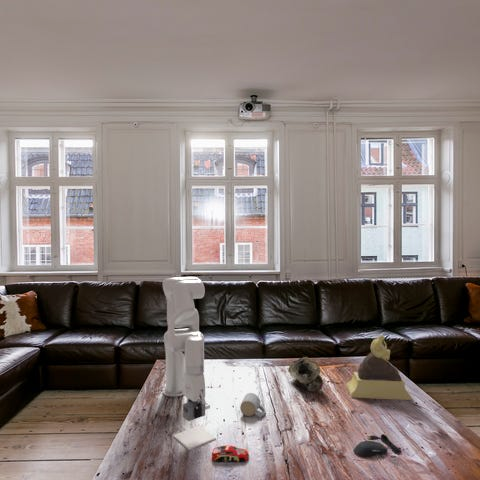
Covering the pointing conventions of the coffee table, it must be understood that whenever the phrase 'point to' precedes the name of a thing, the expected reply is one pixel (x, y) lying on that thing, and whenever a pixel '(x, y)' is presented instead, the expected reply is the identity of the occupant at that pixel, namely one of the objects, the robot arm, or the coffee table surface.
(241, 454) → the race car
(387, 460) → the coffee table surface
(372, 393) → the yellow brown mound sculpture
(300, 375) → the hollow geode rock
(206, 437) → the felt coaster
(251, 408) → the ceramic mug
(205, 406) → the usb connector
